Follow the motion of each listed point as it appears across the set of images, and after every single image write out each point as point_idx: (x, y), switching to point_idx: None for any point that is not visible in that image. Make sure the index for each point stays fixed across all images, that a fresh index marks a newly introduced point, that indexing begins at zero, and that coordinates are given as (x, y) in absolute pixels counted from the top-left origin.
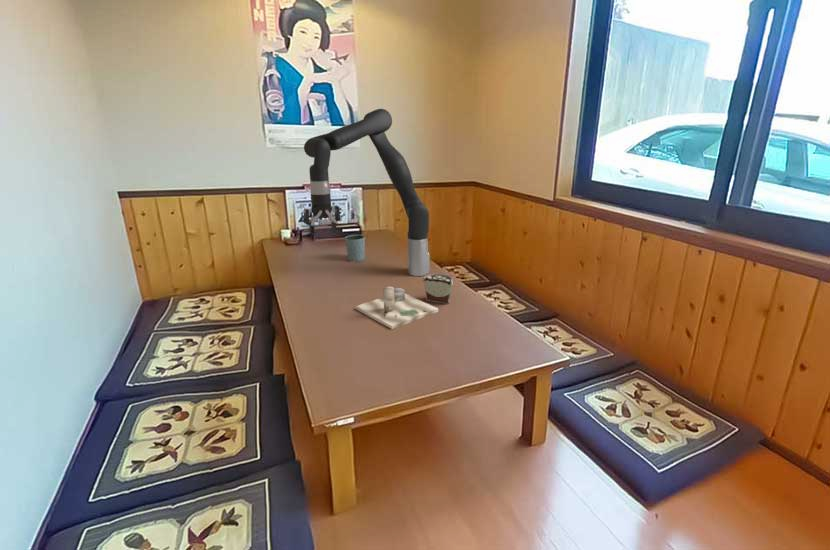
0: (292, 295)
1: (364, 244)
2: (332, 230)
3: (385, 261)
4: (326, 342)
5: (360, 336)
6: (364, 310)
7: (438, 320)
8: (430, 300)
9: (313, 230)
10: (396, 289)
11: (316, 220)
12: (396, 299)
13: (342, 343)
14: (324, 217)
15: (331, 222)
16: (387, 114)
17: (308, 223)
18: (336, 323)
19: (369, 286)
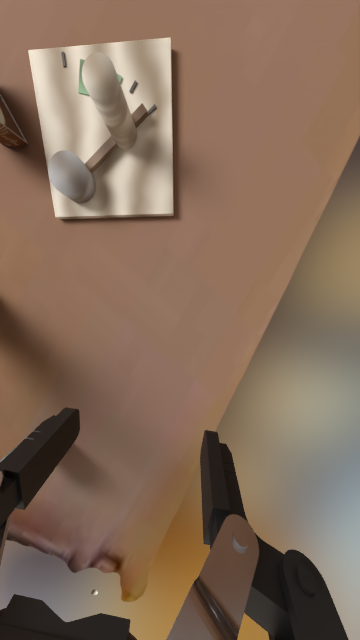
0: (230, 362)
1: (3, 458)
2: (73, 428)
3: (6, 394)
4: (311, 96)
5: (243, 68)
6: (171, 176)
7: (60, 7)
8: (21, 133)
9: (218, 460)
10: (63, 183)
11: (193, 594)
12: (87, 163)
13: (291, 63)
14: (39, 629)
15: (22, 503)
16: None
17: (292, 571)
18: (242, 175)
19: (93, 303)
